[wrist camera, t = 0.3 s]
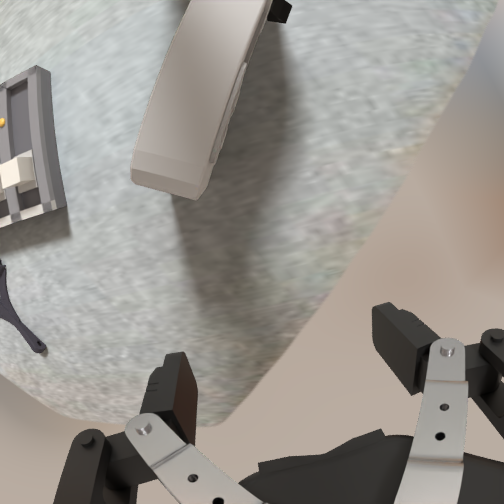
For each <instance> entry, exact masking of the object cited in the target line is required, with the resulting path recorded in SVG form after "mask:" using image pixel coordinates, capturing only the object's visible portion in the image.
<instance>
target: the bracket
mask: <svg viewBox="0 0 504 504" xmlns="http://www.w3.org/2000/svg"><path fill="white" fill-rule="evenodd" d="M0 263H1V259H0ZM5 266H6V265H4V266H2V265H1V264H0V318H2V319H4V320H6V321H8V322H10V323H11V324H13V325H14V326H15V327H16V328H17V330H18V331H19V332H20V333H21V335H22V336H23V337H24V339H25V340H26V341H27V343H28V344H29V345H30V347H31V349H32V350H33V351H34V352H36V353H42V352H43V351H44V349H45V347H46V345H45V344H44V343H43V342H42V341H41V340H40V339H39V338H37V337H36V336H35V335H34V334H33V333H32V332H31V331H30V330H29V329H28V328H27V327H26V326H25V325H24V324H23V323H22V322H21V321H20V319H19V317H18V316H17V314H16V312H15V311H14V309H13V307H12V305H11V302H10V300H9V296H8V292H7V286H6V268H5ZM37 342H39V343H37ZM40 343H41V344H40ZM41 345H42V346H41Z"/></svg>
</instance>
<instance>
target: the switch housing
mask: <svg viewBox="0 0 504 504" xmlns="http://www.w3.org/2000/svg"><path fill="white" fill-rule="evenodd" d="M31 149H33V156H34V163H35V170H36V176H37V182H38V187H37V188H34V189H31V190H29V191H26V192H23V193H20V194H19V191H18V186H16V187H11V188H5V192H6V197H7V199H6V200H3V201H1V202H0V228H1V227H4V226H6V225H9V224H12V223H15V222H18V221H21V220H24V219H27V218H30V217H33V216H36V215H39V214H42V213H45V212H49V211H52V210H55V209H58V208H61V207H65V206H67V203H66V198H65V193H64V188H63V183H62V177H61V172H60V166H59V159H58V153H57V145H56V138H55V129H54V120H53V109H52V95H51V74H50V72H49V71H47V70H45V69H43V68H41V67H39V66H37V65H35V66H33V67H31V68H29V69H28V70H26V71H24V72H22V73H20V74H18V75H16V76H14V77H13V78H11V79H9V80H7V81H6V82H4V83H2V84H0V164H3V163H5V162H8V161H10V160H12V159H13V157H15V156H18V155H20V154H22V153H24V152H27V151H29V150H31Z"/></svg>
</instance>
